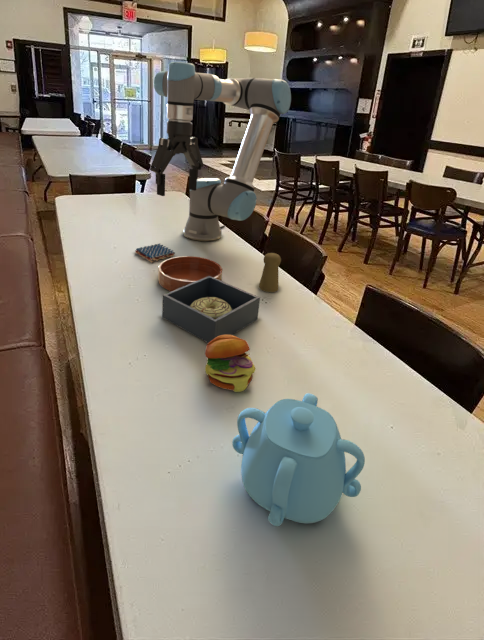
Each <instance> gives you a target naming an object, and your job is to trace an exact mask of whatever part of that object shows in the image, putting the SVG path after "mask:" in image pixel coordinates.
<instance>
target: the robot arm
mask: <svg viewBox="0 0 484 640" xmlns="http://www.w3.org/2000/svg"><path fill="white" fill-rule="evenodd" d="M167 68H168V69H167V70H163V71H158V72H157V73H156V75H155V76H154V78H153V88H154V91H155V93H156V94H157V95H158V96H161V97H165V98H166V99H167V102H166V103H167V104H166V119H168V120H167V121H166V131H165V132H166V134H167V138H163V137H160V138H159V139H158V146H157V149H156V151H155V154H154V156H153V159H152V161H151V164H150V167H149V171H150V172H153V173H155V185H156V195H157V196H161V197H165V196H166V173H164V172H165V171H166V169H167V168H168V166H169V164H170V163H171V161H172V159H173V157H175V156H176V155H180V154H182V155H184V157H185V159H186V161H187V162H188V164H189V166H190V167H191V168H189V171H188V190H189V203H188V204H189V205H188V206H189V208H188V209H189V210H188V218H187V220H186V223H185V226H184V228H183V236H184V237H185V238H187V239H189V240H192V241H196V242H214V241H218V240H220V239H221V238H222V229H223V228H225V227H226V225H222V226H221V225H220V221H219V217H220V216H221V217H224V218H227V219H230V220H233V221H239V222H240V221H245V220H247V219H248V218H250V217H251V215H252V214H253V213H254V210H255V208H256V206H257V200H258V199H257V195H256V192H255V186H254V183H253V182H254V179H255V177H256V174H257V171H258V169H259V165H260V163H261V159H262V156H263V153H264V150H265V148H266V145H267V142H268V139H269V136H270V133H271V131H272V127H273V125H274V124H275V123H278V121H279V120H280V117H281V115H284V114H287V113H288V111H290V107H291V103H292V93H291V88H290V85H289V83H288V82H287V81H286V80H284V79H279V78H278V79H277V78H262V77H261V78H260V77H243V78H241V77H240V78H233V77H228V78H225V79H222V78H219V76H217V75H215V74H212V73H205V72H196V66H195V64H194V63H191V62H182V61H171V62H170V63H169V64H168V67H167ZM196 100H197V101H207V102H218V103H219V102H221V103H223V104H224V105H226V106H232V107H235V108H239V109H243V110H246V111H247V110H248V112H249V114H250V119H249V122H248V124H247V128H246V130H245V133H244V136H243V139H242V141H241V144H240V148H239V150H238V154H237V156H236V159H235V162H234V165H233V168H232V171H231V174H230V175H229V176H227V177H226V178H225V179H224V182H223V184H222V180H221V178H217V177H204V178H203V177H201V178H199V171H201V170H202V168H203V167H204V161H203V157H202V154H201V151H200V148H199V138H198V137H196V136H192V135H193V122H191V121H193V120H194V119H193V117H194V101H196Z"/></svg>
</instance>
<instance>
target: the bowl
mask: <svg viewBox="0 0 484 640" xmlns="http://www.w3.org/2000/svg"><path fill="white" fill-rule="evenodd" d="M157 269H158V270H157V281H158V284H159V285H160V286H161V287H162V288H163V289H165V290H167V291H168V292H171V291H174V290H176V289H179V288H181V287H183V286H186V285H188V284H191V283H193V282H196V281H198V280H200V279H203V278H205V277H208V276H211V277H213V278H216V279H218V280H220V281H223V268H222V266H221V265H220V264H219V263H217V261H214V260H212V259H209V258H206V257H201V256H194V255H193V256H192V255H181V256H173V257H171V258H170V257H169V258H166V259H164V260H163V261H162V262H160V263H159V265H158V268H157Z"/></svg>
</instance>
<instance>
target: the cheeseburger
mask: <svg viewBox="0 0 484 640" xmlns="http://www.w3.org/2000/svg"><path fill="white" fill-rule="evenodd" d="M250 350H251V348H250V346H249V343H248V342H247V340H246V339H243V338H240V337H238V336H236V335H234V334H233V335H220V336H217V337H216V338H214V339H213V340H211V341H210V342H209V343H207V344H206V345H205V351H204V355H205V358H207V359H206V361H207V363H206V364H205V368H204V371H205V374H206V375H207V377H208V380H209V383H211V384H212V385H215V386H216V387H218V388H220V389H225V390H229V391H233V392H235V393H241V392H244V391H245V390H246V389H247V388H248V386H249V384H250V383H251V382H252V381H253V376H254V373H255V372H256V370H257V369H256V366H255V364H254V362H253V360H252V358H251V357H250V355H251V353H247V352H249V351H250Z"/></svg>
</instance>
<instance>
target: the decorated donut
mask: <svg viewBox="0 0 484 640" xmlns="http://www.w3.org/2000/svg"><path fill="white" fill-rule="evenodd" d="M190 307H192V308H194V309H196V310H198V311H200V312H202V313H204V314H206V315H208V316H210V317H212V318H214V319H217V318H219V317H221V316H222V315H224V314H226V313H228V312H230V311H232V308H231V306H230V305H229V304H228V303H227V302H226V301H224V300H222V299H219V298H216V297H206V298H200V299H198V300H195V301H194V302H193V303H192V304H191V305H190Z"/></svg>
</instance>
